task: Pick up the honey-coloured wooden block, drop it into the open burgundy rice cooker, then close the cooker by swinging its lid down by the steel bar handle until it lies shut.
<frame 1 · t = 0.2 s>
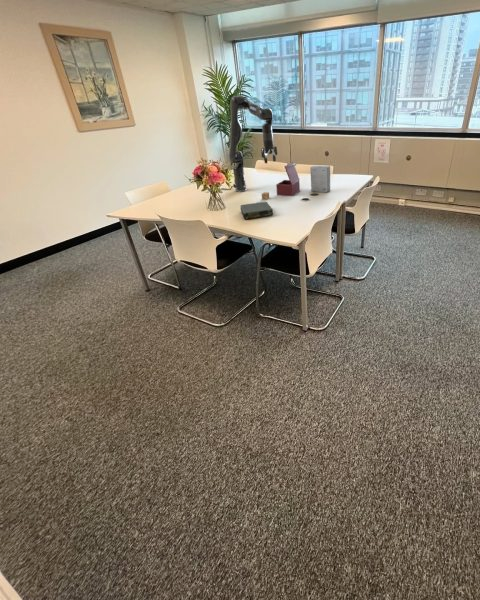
hand: (270, 162, 247), 28 cm above the table, tool pointing down, fingers open, 8 cm apart
block: (265, 198, 264), on the table
network switch: (256, 213, 234), on the table
hard drive box: (320, 190, 276), on the table
rice cooker: (288, 192, 275), on the table
cooker lid: (294, 172, 263), point 17 cm above the table, hinge at 70.0°
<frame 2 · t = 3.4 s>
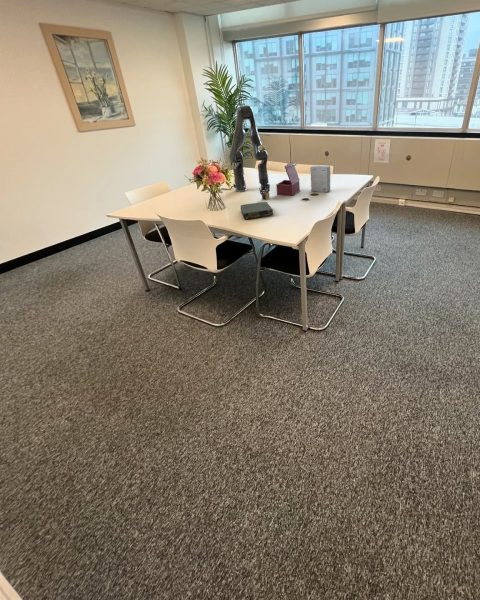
hand: (265, 198, 264), 0 cm above the table, tool pointing down, fingers closed on block, 4 cm apart
block: (265, 198, 264), on the table, touching gripper
everything else where it was.
when the fingers open (8 cm above the table, at t = 9.4 s): block drops 7 cm, resting on rice cooker.
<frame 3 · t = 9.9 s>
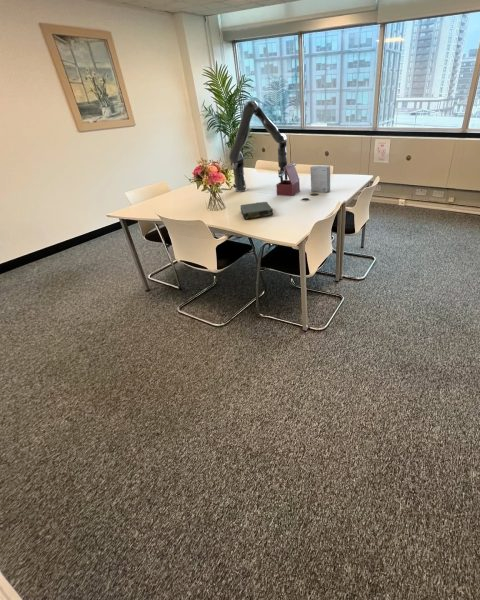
hand: (284, 180, 271), 10 cm above the table, tool pointing down, fingers open, 8 cm apart
block: (285, 191, 276), point 1 cm above the table, touching rice cooker
everything else where it was.
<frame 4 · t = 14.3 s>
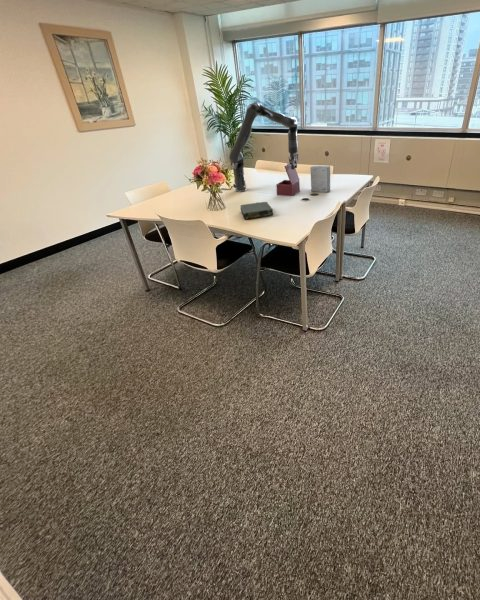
hand: (294, 168, 261), 20 cm above the table, tool pointing down, fingers closed on cooker lid, 5 cm apart
cooker lid: (294, 172, 263), point 17 cm above the table, hinge at 70.0°, touching gripper
everything else where it was.
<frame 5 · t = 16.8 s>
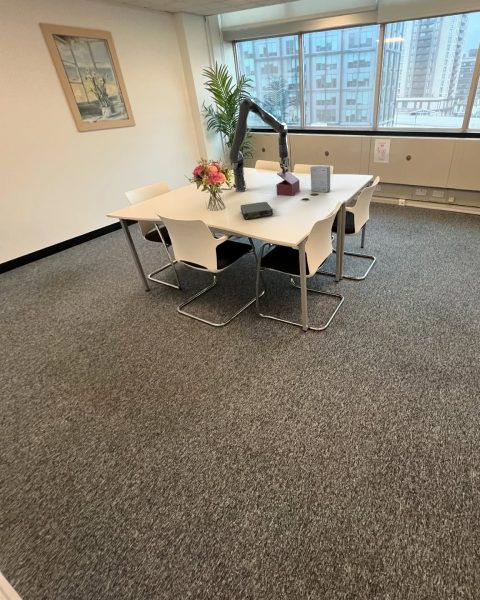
hand: (285, 172, 266), 17 cm above the table, tool pointing down, fingers closed on cooker lid, 5 cm apart
cooker lid: (289, 174, 266), point 15 cm above the table, hinge at 32.5°, touching gripper
everything else where it was.
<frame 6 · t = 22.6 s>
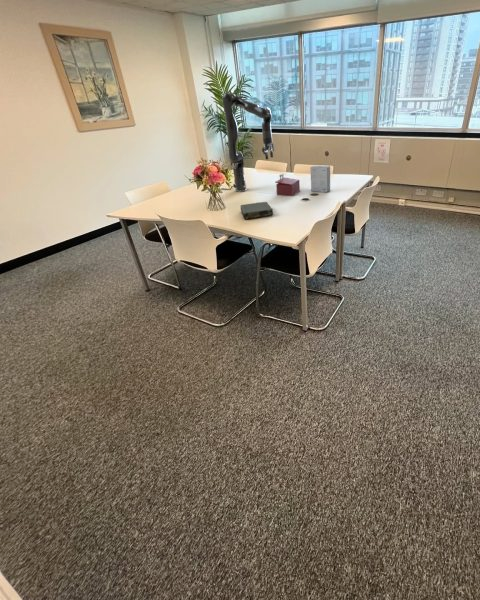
hand: (269, 158, 263), 28 cm above the table, tool pointing down, fingers open, 8 cm apart
cooker lid: (287, 178, 268), point 12 cm above the table, hinge at 4.6°
everything else where it was.
at the end: block inside the target area in the rice cooker (3.5 cm from its centre), point 0.8 cm above the rice cooker's base; cooker lid at +5° (first picture: +70°) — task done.
